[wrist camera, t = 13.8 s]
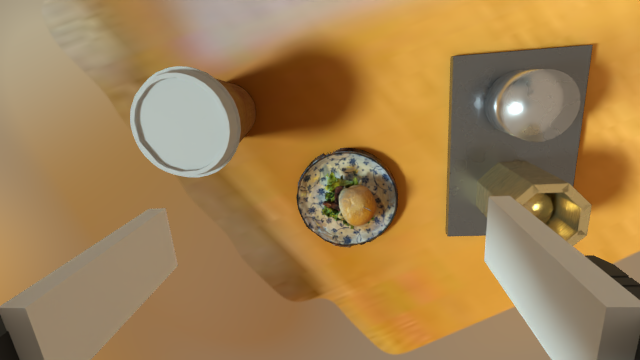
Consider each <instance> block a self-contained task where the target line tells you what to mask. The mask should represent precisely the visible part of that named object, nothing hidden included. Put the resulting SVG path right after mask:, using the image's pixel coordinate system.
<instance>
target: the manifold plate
mask: <svg viewBox="0 0 640 360" xmlns="http://www.w3.org/2000/svg"><path fill="white" fill-rule="evenodd" d="M591 53H592V45H585V46H572V47H560V48H548V49H536V50H524V51H512V52H499V53H487V54H475V55H463V56H452V57H451V65H450V100H449V135H448V169H447V204H446V234H447V236H481V235H486V229H487V217H486V216H485V215H484V214H483V213H482V212H481V211H480V210H479V209H478V207H477V206H476V195H477V181H478V180H479V179H480V178H481V177H482V176H484V175H485V174H486V173H487V172H488V171H489V170H490V169H491V168H492V167H493V166H495V165H496V164H497V163H498V162H517V161H527V162H529V163H531V164H533V165H535V166H537V167H539V168H541V169H543V170H544V171H546V172H548V173H550V174H552V175H554V176H556V177H558V178H560V179H562V180H564V181H566V182H568V183H569V184H570V185H571V186H572V187H573V184H574V177H575V170H576V162H577V155H578V148H579V141H580V133H581V126H582V119H583V111H584V104H585V97H586V89H587V82H588V75H589V67H590V60H591ZM522 206H523V207H524V208H526V209H527V210H528V211H529V212H531V213H532V214H533V215H534V216H536V217H537V218H538V219H539V220H541V221H542V222H543V223H544V224H545V223H546V222H547V221H548V220H549V219H550V217H551V215H552V212H553V205H552V202H551V200H550V198H549V197H548V196H547V195H545V194H544V193H536V194H535V195H534V196H533V197H532V198H530V199H529V200H528V201H527V202H526V203H524V204H523V205H522Z"/></svg>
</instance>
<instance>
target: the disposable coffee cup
mask: <svg viewBox="0 0 640 360" xmlns="http://www.w3.org/2000/svg"><path fill="white" fill-rule="evenodd" d="M255 118H256V108H255V104H254V102H253V100H252V98H251V96H250V95H249V93H248V92H247V91H246V90H245V89H243V88H242V87H240V86H238V85H235V84H232V83H228V82H225V81H221V80H218V79H215V78H213V77H212V76H211V75H209V74H208V73H205V72H203V71H200V70H198V69H195V68H191V67H181V66H177V67H170V68H166V69H164V70H161V71H159V72H156V73H155V74H154V75H152V76H151V77H150V78H149V79H147V81H146V82H145V83H144V84H143V85H142V87H141V88H140V89H139V91H138V92H137V93H136V95H135V97H134V100H133V103H132V106H131V113H130V123H131V129H132V133H133V135H134V138H135V141H136V143H137V145H138V147H139V148H140V150H141V151H142V152H143V154H144V155H145V156H146V157H147V158H148V159H149V160H150V161H151V162H152V163H153V164H154V165H156V166H157V167H159V168H160V169H162V170H164V171H166V172H169V173H172V174H174V175H180V176H185V177H202V176H207V175H210V174H213V173H215V172H217V171H219V170H220V169H221V168H223V167H224V166H225V165H226V164H227V163H228V162H229V161H230V160H231V158H232V157H233V155H234V153H235V152H236V150H237V147H238V144H239V142H240V141H241V140H242V139H243V138H244V137H245V135H246V134H247V133H248V132H249V131H250V130H251V128H252V126H253V125H254V122H255Z"/></svg>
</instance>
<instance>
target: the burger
mask: <svg viewBox="0 0 640 360" xmlns="http://www.w3.org/2000/svg"><path fill="white" fill-rule="evenodd" d="M342 149H343V150H342ZM330 153H331V152H330ZM384 167H385V168H384ZM391 176H392V177H391ZM397 202H398V193H397V186H396V183H395V180H394V177H393V175H392V174H391V172H390V170H389V169H388V167H387V166H386V165H385V164H384V163H383V162H382V161H381V160H380V159H378V158H377V157H375V156H374V155H372V154H370V153H368V152H366V151H363V150H359V149H355V148H345V149H344V148H340V150H339V149H338V150H336V151H335V152H334V151H333V153H332V154H328V155H324V153H323V154H322V155H320V156H318V157H317V158H315V159H314V160H313V161H312V162H311V163H310V165H309V166H308V167H307V168H306V170H305V171H304V173H303V174H302V175H301V178H300V180H299V182H298V192H297V205H298V209H299V212H300V215H301V217H302V219H303V221H304V223H305V224H306V226H307V227H308V228H309V229H310V230H312V231H313V232H314V233H316V234H317V235H318V236H319V237H321V238H322V239H323V240H325V241H328V242H330V243H332V244H333V245H335V246H340V247H351V246H353V245H357V244H361V245H362V244H365V243H366V242H371V241H373V240H374V239H376V238H377V237H378V236H380V235H381V234H382V233H383V232H384V231H385V230H386V228H387V227H388V226H389V225H390V224H391V222H392V220H393V218H394V216H395V214H396V211H397V205H398V203H397Z"/></svg>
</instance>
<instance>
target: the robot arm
mask: <svg viewBox="0 0 640 360" xmlns="http://www.w3.org/2000/svg"><path fill="white" fill-rule="evenodd" d="M484 261H485V262H486V264H487V265H488V267H489V268H490V270H491V271H492V273H493V274H494V276H495V277H496V279H497V280H498V281H499V283H500V284H501V286H502V287H503V289H504V290H505V292H506V293H507V295H508V296H509V298H510V299H511V301H512V302H513V304H514V305H515V306H516V308H517V309H518V311H519V312H520V314H521V315H522V317H523V318H524V320H525V321H526V323H527V324H528V326H529V327H530V328H531V330H532V331H533V333H534V334H535V336H536V337H537V339H538V340H539V342H540V343H541V345H542V346H543V348H544V349H545V351H546V352H547V354H548V355H549V356H550V358H551V359H552V360H640V284H639V283H638V282H636V281H635V280H634V279H632V278H629V277H628V275H627V274H626V273H624V272H623V271H622V270H620V269H619V268H617V267H616V266H615V265H613V264H611V263H609V262H607V261H605V260H602V259H600V258H598V257H596V256H584V255H583V254H582V253H580V252H579V251H578V250H577V249H575V248H574V247H573V246H572V245H570V244H569V243H568V242H567V241H565V240H564V239H563V238H562V237H560V236H559V235H558V234H557V233H555V232H554V231H553V230H552V229H551V228H549V227H548V226H547V225H546V224H544V223H543V222H542V221H541V220H539V219H538V218H537V217H536V216H534V215H533V214H532V213H531V212H529V211H528V210H527V209H526V208H524V207H523V206H522V205H521V204H519V203H518V202H517V201H516V200H514V199H513V198H512V197H511V196H490V197H489V198H488V213H487V229H486V244H485V259H484ZM177 266H178V264H177V260H176V255H175V250H174V245H173V241H172V236H171V232H170V227H169V223H168V218H167V213H166V209H165V208H162V209H148V210H146V211H145V212H143V213H142V214H140V215H139V216H138V217H136V218H134V219H133V220H131V221H130V222H128V223H127V224H125V225H124V226H122V227H120V228H119V229H117V230H116V231H114V232H113V233H111V234H110V235H108V236H107V237H105V238H104V239H102V240H101V241H99V242H98V243H96V244H94V245H93V246H91V247H90V248H88V249H87V250H85V251H84V252H82V253H81V254H79V255H78V256H76V257H75V258H73V259H72V260H70V261H69V262H67V263H65V264H64V265H63V266H61V267H59V268H58V269H56V270H55V271H53V272H52V273H50V274H49V275H47V276H46V277H44V278H43V279H41V280H40V281H38V282H36V283H35V284H33V285H32V286H30V287H29V288H27V289H26V290H24V291H23V292H21V293H20V294H18V295H17V296H15V297H14V298H12V299H11V300H9V301H7V302H6V303H4V304H3V305H1V306H0V360H91V359H92V358H93V357H94V356H95V355H96V353H97V352H98V351H99V350H100V349H101V348H102V347H103V346H104V345H105V344H106V343H107V342H108V341H109V340H110V338H111V337H112V336H113V335H114V334H115V333H116V332H117V331H118V330H119V329H120V328H121V326H122V325H123V324H124V323H125V322H126V321H127V320H128V319H129V318H130V317H131V316H132V315H133V314H134V312H135V311H136V310H137V309H138V308H139V307H140V306H141V305H142V304H143V303H144V302H145V301H146V300H147V298H148V297H149V296H150V295H151V294H152V293H153V292H154V291H155V290H156V289H157V288H158V287H159V286H160V284H161V283H162V282H163V281H164V280H165V279H166V278H167V277H168V276H169V275H170V274H171V273H172V272H173V270H174V269H175V268H176V267H177Z"/></svg>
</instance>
